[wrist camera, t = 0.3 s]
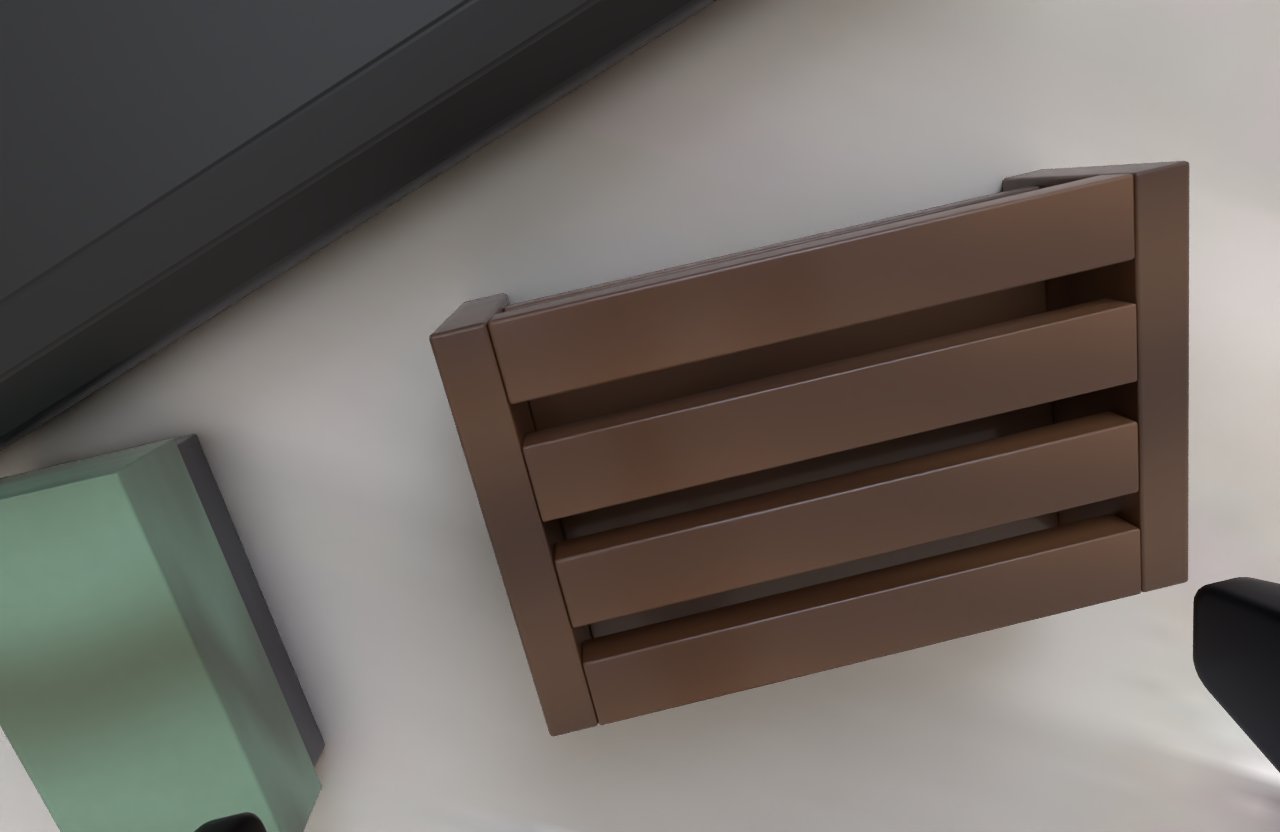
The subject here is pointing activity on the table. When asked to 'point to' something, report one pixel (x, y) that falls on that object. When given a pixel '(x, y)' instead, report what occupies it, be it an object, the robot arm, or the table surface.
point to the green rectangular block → (145, 651)
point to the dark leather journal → (238, 150)
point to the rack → (835, 441)
